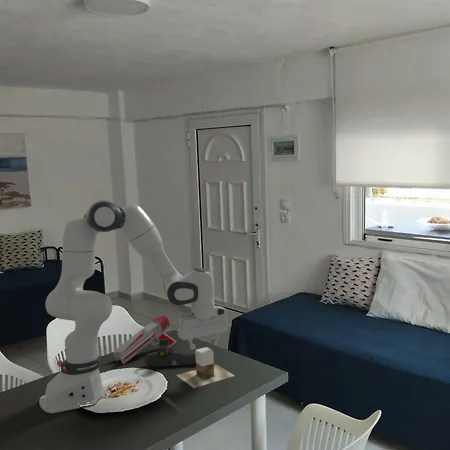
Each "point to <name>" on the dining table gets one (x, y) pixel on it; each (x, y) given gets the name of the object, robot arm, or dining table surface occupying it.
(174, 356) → the laser sight
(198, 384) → the beige rectangular board
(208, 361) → the cream block
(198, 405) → the dining table surface
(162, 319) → the toy gun
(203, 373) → the walnut block
